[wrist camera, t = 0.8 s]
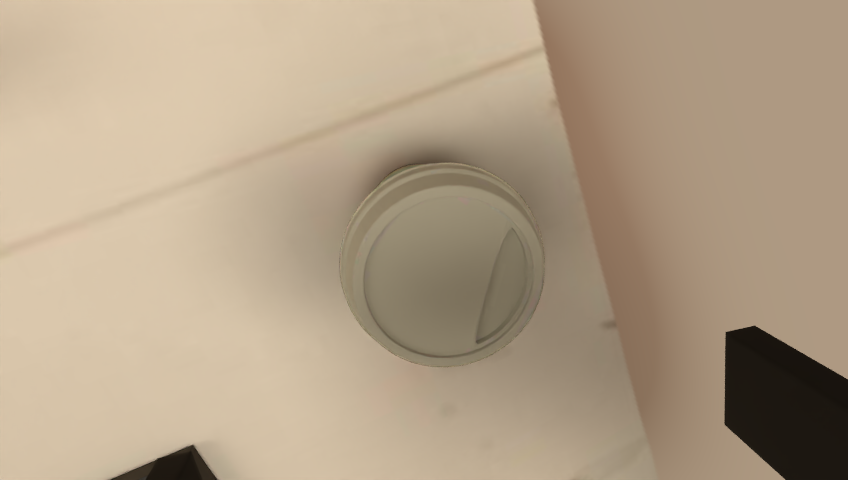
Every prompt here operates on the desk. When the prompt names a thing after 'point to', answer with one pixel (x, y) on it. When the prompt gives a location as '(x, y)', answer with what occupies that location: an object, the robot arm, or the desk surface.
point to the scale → (138, 476)
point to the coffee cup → (442, 264)
